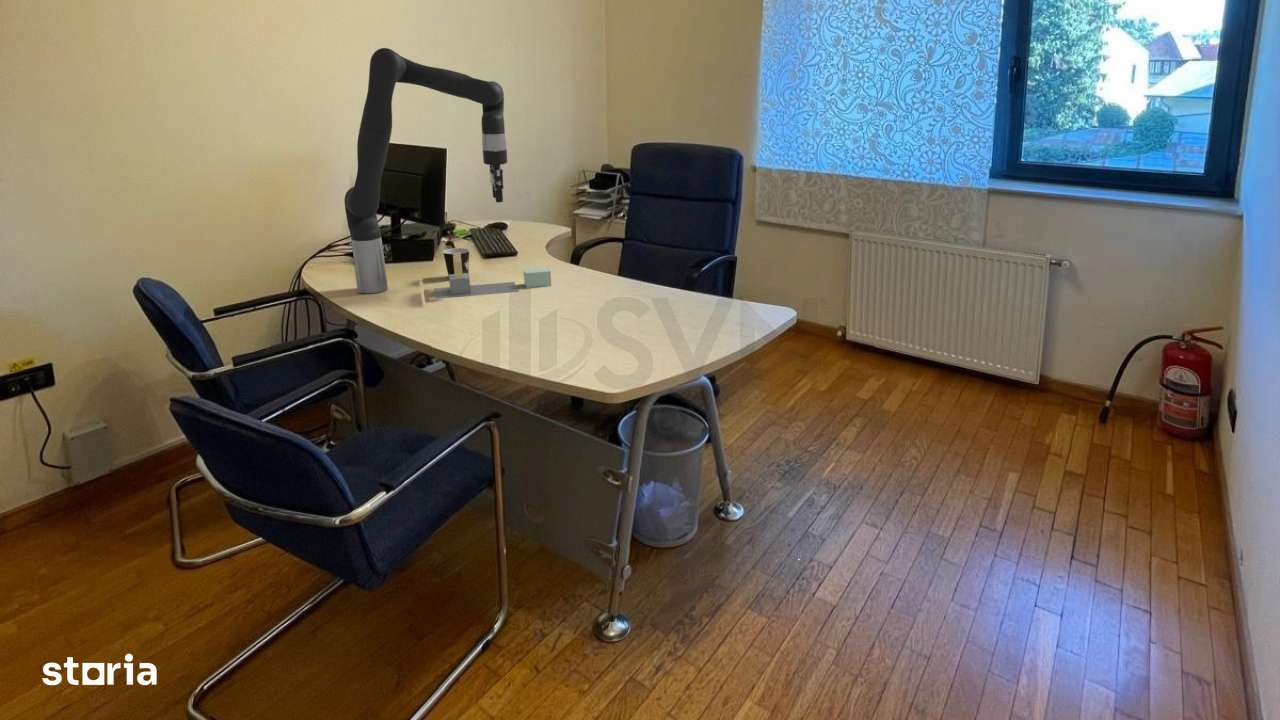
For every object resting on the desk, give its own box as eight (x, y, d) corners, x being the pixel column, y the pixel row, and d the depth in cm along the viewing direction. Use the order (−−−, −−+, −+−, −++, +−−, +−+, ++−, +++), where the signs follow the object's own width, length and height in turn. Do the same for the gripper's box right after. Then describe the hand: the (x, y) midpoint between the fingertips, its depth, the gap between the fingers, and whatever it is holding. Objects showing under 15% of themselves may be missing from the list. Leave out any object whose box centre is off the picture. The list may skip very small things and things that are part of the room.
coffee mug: (457, 284, 267) (454, 255, 263) (440, 280, 272) (437, 251, 268) (483, 277, 276) (481, 248, 272) (466, 273, 281) (464, 245, 277)
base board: (435, 301, 249) (433, 283, 247) (434, 291, 260) (432, 273, 257) (519, 294, 255) (518, 276, 253) (514, 284, 266) (513, 267, 264)
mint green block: (527, 291, 259) (525, 273, 257) (524, 287, 264) (523, 269, 262) (551, 289, 261) (550, 271, 259) (548, 285, 266) (547, 267, 264)
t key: (454, 270, 260) (452, 252, 258) (462, 269, 261) (460, 251, 258) (455, 281, 247) (453, 262, 245) (463, 281, 248) (461, 261, 246)
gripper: (480, 146, 258) (484, 196, 264) (484, 151, 246) (488, 204, 251) (503, 145, 260) (506, 195, 266) (509, 150, 248) (512, 203, 253)
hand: (497, 199), depth 259 cm, fingers open, 8 cm apart
